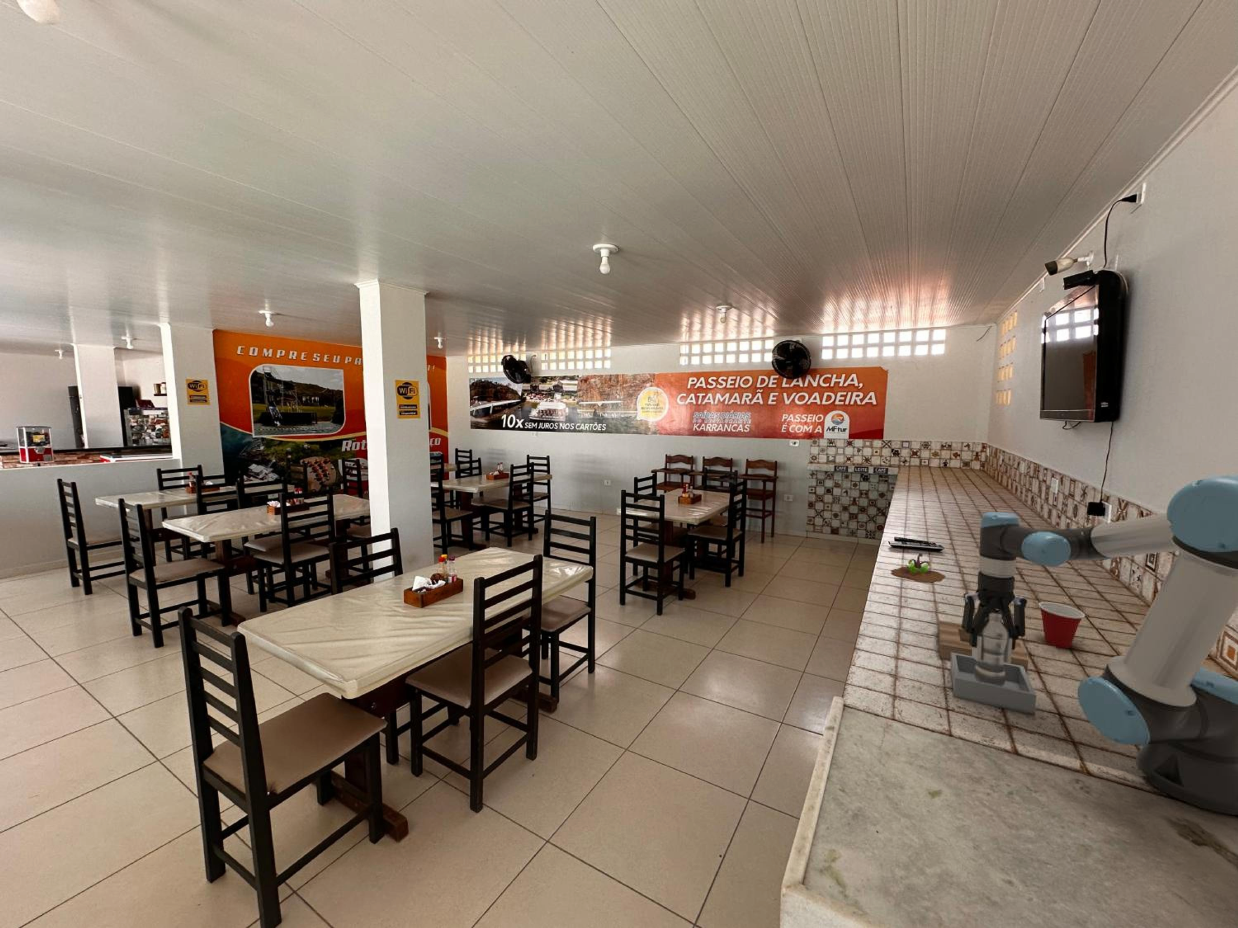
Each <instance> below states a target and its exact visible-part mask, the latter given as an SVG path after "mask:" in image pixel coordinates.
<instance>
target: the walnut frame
mask: <svg viewBox="0 0 1238 928" xmlns="http://www.w3.org/2000/svg"><path fill="white" fill-rule="evenodd" d="M937 624H938V625H937V637H938V646H939V647H938V648H939V654H940V655H939V656H940V660H947V661H950V662H951V652H952V653H957V654H962V655H967V656H972V646H971V645H970V644H969V636H970V634H969V633H967V632H965V631H964V630H963V629H962V628H961V626H962V623H958V622H952V621H945V620H941V619H938V623H937ZM1004 663H1006V662H1005V661H1004ZM1011 664H1014V665H1019V666H1023V667H1024V669H1025V671H1026V673H1027V674H1028V669H1029V659H1028V657H1027V655H1026V652H1025V650H1024V648H1023V646H1022V644H1021V642H1020V640H1019V639H1018V640H1016V644H1015V650H1012V652H1011Z"/></svg>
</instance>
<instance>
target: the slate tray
mask: <svg viewBox="0 0 1238 928" xmlns="http://www.w3.org/2000/svg"><path fill="white" fill-rule="evenodd" d="M976 663H977V660H975V659H974V658H973V657H972V656H967V655H962V654H957V653H952V652H951V661H950V668H949V669H950V670H949V671H950V678H951V684H952V691H953V697H955V698H958V699H962V700H967V701H972V702H976V703H979V704H980V703H981V704H985V705H989V706H992V707H997V708H1002V709H1005V710H1011V711H1015V712H1019V713H1023V714H1027V715H1033V716H1035V715H1036V704H1037V703H1036V702H1037V701H1036V700H1037V694H1036V692H1035V689H1034V687H1033V685H1032V683H1031V680H1030V678H1029V675H1028V672H1027V673H1026V671H1025V669H1024V667H1023V666H1019V665H1014V664H1009V663H1004V671H1005V676H1006V681H1005V684H1004V686H998V685H994V684H989V683H984V682H980V681H976V679H975V677H974V669H975V665H976Z"/></svg>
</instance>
